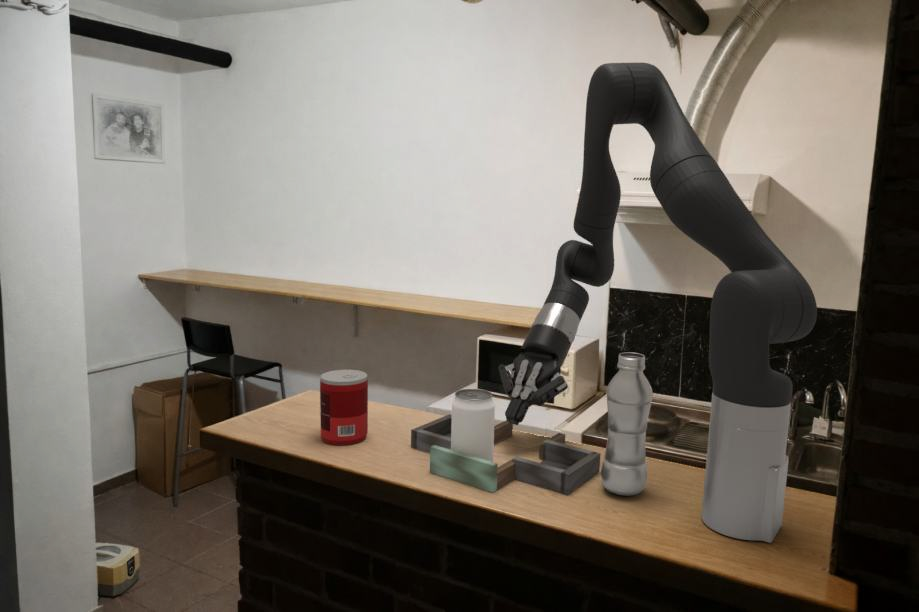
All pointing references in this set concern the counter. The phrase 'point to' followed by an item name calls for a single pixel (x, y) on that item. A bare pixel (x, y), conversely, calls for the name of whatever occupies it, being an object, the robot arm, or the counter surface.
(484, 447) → the can
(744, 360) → the robot arm
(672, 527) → the counter surface
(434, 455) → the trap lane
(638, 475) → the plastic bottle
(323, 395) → the canned food
